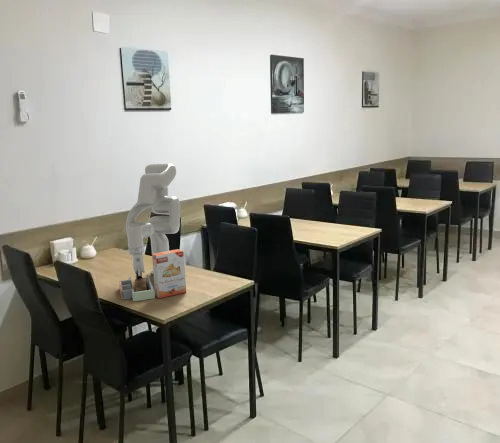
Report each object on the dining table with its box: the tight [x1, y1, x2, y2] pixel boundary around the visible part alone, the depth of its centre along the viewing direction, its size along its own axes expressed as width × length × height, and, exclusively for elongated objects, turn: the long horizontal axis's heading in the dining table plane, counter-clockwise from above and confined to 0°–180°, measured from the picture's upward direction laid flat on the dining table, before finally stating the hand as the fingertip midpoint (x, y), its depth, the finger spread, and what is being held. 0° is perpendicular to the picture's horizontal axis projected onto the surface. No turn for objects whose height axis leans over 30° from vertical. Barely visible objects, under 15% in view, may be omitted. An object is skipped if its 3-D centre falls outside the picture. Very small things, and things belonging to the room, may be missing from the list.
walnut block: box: [134, 277, 147, 292], centre depth 241 cm, size 5×5×5 cm
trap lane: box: [118, 274, 156, 302], centre depth 238 cm, size 15×27×4 cm, turn 17°
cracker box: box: [151, 248, 187, 299], centre depth 230 cm, size 14×6×21 cm, turn 122°
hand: (139, 285), depth 246 cm, fingers closed
